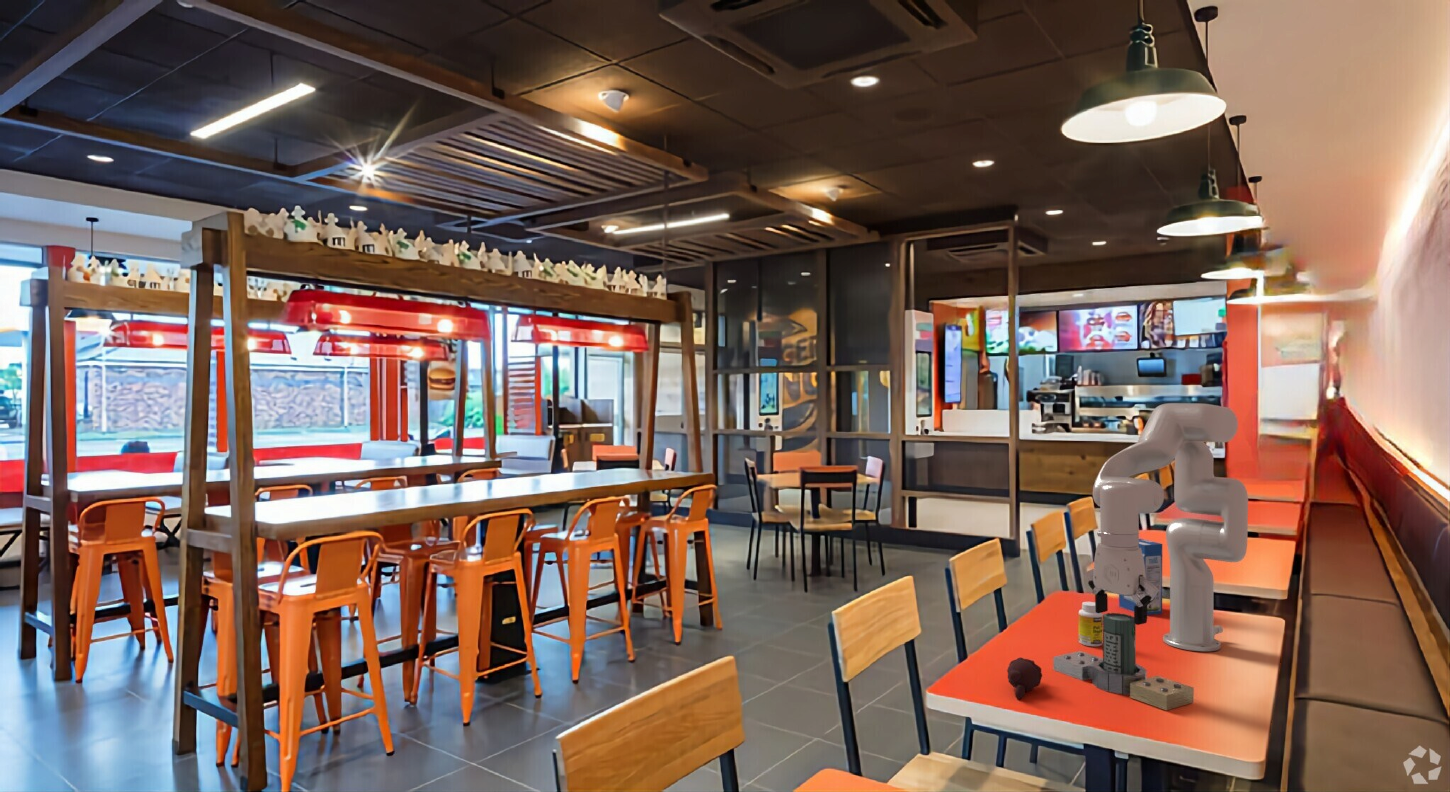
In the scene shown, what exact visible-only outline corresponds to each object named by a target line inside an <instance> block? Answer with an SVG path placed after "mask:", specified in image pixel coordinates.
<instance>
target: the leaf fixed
mask: <svg viewBox="0 0 1450 792" xmlns="http://www.w3.org/2000/svg"><path fill="white" fill-rule="evenodd" d="M1052 660H1053V661H1052V662H1053V663H1052V665H1053V671H1055V672H1058V673H1060V674H1063V675H1066V676H1069V677H1071V678H1074V679H1076V680H1079V681H1087V680H1092V681H1091V682H1092V684H1093V686H1095V688H1097V689H1099V690H1102V691H1105V692H1108V693H1112V694H1118V695H1123V696H1125V695H1129V696H1130V683H1132V682H1136V681H1140V680H1143V679H1147V678H1148V677H1147V675H1148V674H1147V671H1148V670H1147V669H1146V668H1145V667H1143V666H1142V665H1140V664H1137V663H1136V673H1134V674H1120V673H1114V672H1110V671H1107V670H1104V669H1103V657H1100V656H1097V655H1094V654H1090V653H1088V652H1085V651H1082V650H1079V651H1074V652H1070V653H1065V654H1060V655H1054V656H1053V657H1052Z"/></svg>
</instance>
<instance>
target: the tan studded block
mask: <svg viewBox="0 0 1450 792" xmlns="http://www.w3.org/2000/svg"><path fill="white" fill-rule="evenodd" d="M1194 690H1195V689H1194V687H1193V686H1190V685H1187V684H1184V683H1181V682H1178V681H1174V680H1172V679H1169V678H1166V677H1163V676H1159V675H1155V676H1151V677H1147V679H1143V680H1140V681H1136V682H1132V683H1130V695H1129V698H1131V699H1134V700H1136V701H1140V702H1142V703H1145V704H1148V705H1151V706H1153V707H1154V708H1158V709H1162V710H1164V711H1169V710H1172V709H1176V708H1178V707H1183V706H1185V705H1188V704H1192V703H1194V702H1195V701H1194V700H1195V699H1194V697H1195V696H1194V695H1195V694H1194V692H1195V691H1194Z"/></svg>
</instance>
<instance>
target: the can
mask: <svg viewBox="0 0 1450 792" xmlns="http://www.w3.org/2000/svg"><path fill="white" fill-rule="evenodd" d="M1102 614H1103V613H1102ZM1136 637H1137V636H1136V624H1135V623H1134V616H1132V615H1130V614H1127V613H1120V612H1117V613H1116V612H1111V613H1110V612H1107V613H1104V614H1103V633H1102V658H1103V669H1104V670H1107V671H1110V672H1114V673H1120V674H1134V673H1136V664H1137V663H1136V662H1137V661H1136V658H1137V657H1136V654H1137V652H1136V651H1137V650H1136Z"/></svg>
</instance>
